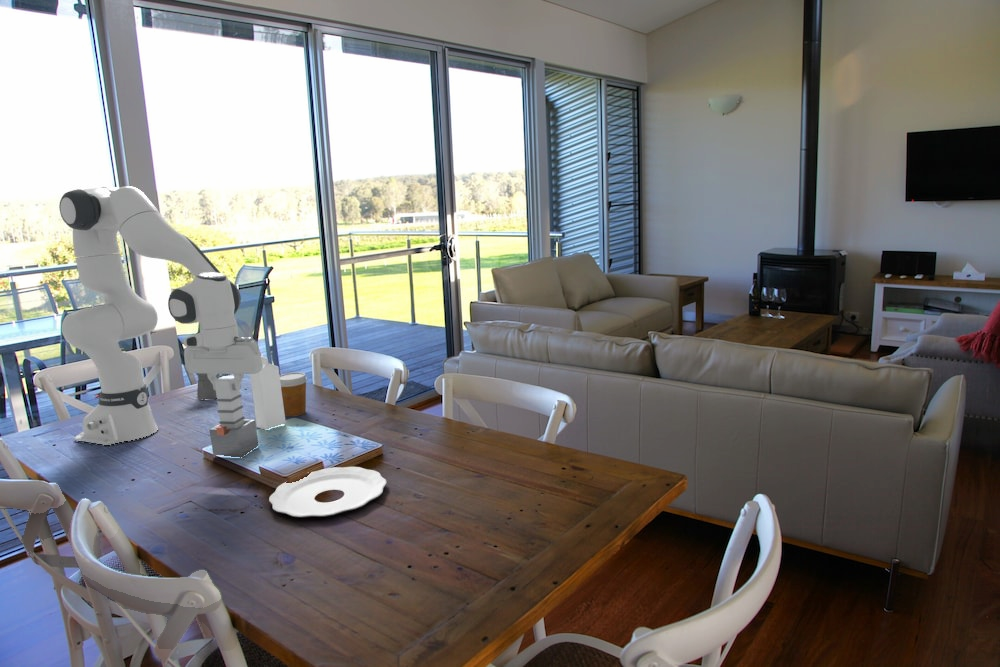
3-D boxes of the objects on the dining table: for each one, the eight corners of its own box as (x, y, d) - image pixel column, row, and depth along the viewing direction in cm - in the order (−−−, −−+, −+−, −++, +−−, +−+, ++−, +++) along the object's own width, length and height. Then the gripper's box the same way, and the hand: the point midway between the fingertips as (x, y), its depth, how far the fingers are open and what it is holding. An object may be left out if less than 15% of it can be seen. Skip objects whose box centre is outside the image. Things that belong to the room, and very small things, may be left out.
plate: (328, 534, 135) (327, 525, 135) (246, 509, 149) (245, 501, 148) (409, 485, 156) (408, 477, 156) (330, 467, 169) (329, 459, 169)
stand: (196, 466, 174) (190, 429, 172) (229, 446, 187) (224, 411, 185) (245, 468, 170) (240, 430, 168) (275, 447, 184) (271, 412, 182)
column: (221, 440, 176) (213, 380, 173) (232, 434, 180) (223, 375, 177) (236, 440, 175) (228, 380, 172) (246, 434, 179) (238, 375, 176)
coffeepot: (194, 403, 229) (186, 351, 225) (188, 397, 237) (180, 347, 233) (241, 393, 238) (234, 343, 234) (234, 388, 245) (227, 339, 242)
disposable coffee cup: (277, 411, 215) (272, 375, 213) (308, 406, 219) (303, 370, 216) (281, 420, 207) (276, 382, 204) (313, 414, 210) (309, 377, 208)
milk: (267, 435, 194) (257, 360, 189) (257, 431, 198) (246, 357, 193) (287, 429, 198) (277, 355, 194) (276, 425, 202) (266, 353, 198)
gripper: (263, 334, 173) (270, 386, 176) (193, 334, 177) (201, 385, 180) (249, 339, 167) (256, 394, 170) (177, 339, 171) (185, 392, 174)
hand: (227, 389), depth 175 cm, fingers open, 4 cm apart
